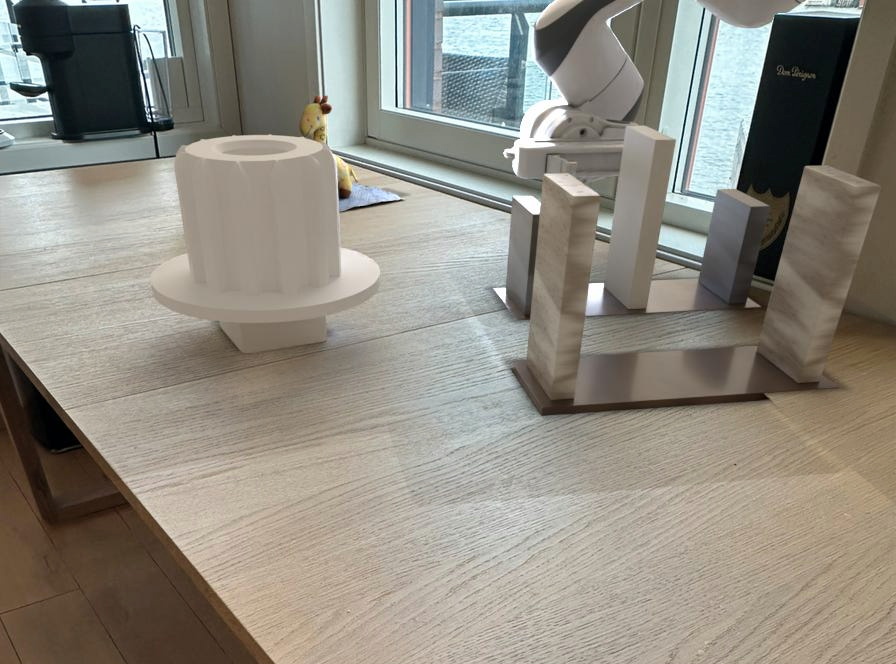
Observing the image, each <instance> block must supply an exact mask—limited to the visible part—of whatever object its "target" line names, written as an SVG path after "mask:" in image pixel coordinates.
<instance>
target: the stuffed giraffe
mask: <svg viewBox="0 0 896 664" xmlns="http://www.w3.org/2000/svg"><path fill="white" fill-rule="evenodd" d="M321 97H322V98H321ZM328 99H329V95H328V94H327V95H326V94H325V95H324V96H321V95H319V94H317V95H315V96H314V100H313V101H312V103H308V104H307V105H306V107H305V108H304V110H303V112H302V115H301V118H300V121H299V132H300V134H301V136H302V137H304V138H305V139H307V138H308V137H310V136H312V134H313V136H312V137H313V138H312V140H314V141H317V142H325V143H326V144H327V134H328V131H327V130H328V129H327V124H328V123H327V121H328V119H327V115H329V114H330V113H331V112H332V111H333V107H332V104H329V103H328ZM333 155H334V156H335V158H336V162H337V179H338V201H339V213H340V212H343V211H345V212H346V211H347V210H350V209H352V208H357V207H360V206H361V207H362V206H369V205H371V204H378V203H381V202H390V201H392V202H393V201H399V200H404V198H403V197H400V196H399V195H398V194H395V193H394V192H393V191H389V190H388V191H387V190H383V189H380V188H378V187H374V186H373V187H372V186H369V185H361V184H359V179H358V178H357V176H356V174H355V172H354V171H353V168H352V167H351V166H350V165H349V164H347V163H346V162H345V161H344V160H343V159H342V158H340V157H339V156H337V155H336V154H334V153H333ZM351 177H353V179H354V182H352V181H353V180H352V178H351Z"/></svg>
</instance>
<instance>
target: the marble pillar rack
mask: <svg viewBox="0 0 896 664" xmlns="http://www.w3.org/2000/svg"><path fill="white" fill-rule="evenodd" d="M881 189H882V185H880V184H877V183H876V182H875V183H874V182H872V181H870V180H867V179H864V178H861V177H860V176H859V177H858V176H857V175H853V174H851V173H848V172H846V171H843V170H840V169H837V168H835V167H832V166H830V165H828V164H827V165H825V164H824V165H805V166H804V167H803V172H802V175H801V179H800V183H799V187H798V189H797V193H796V198H795V200H794V201H795V202H794V206H793V209H792V213H791V217H790V221H789V223H788V224H789V225H788V229H787V232H786V236H785V240H784V244H783V247H782V252H781V255H780V259H779V263H778V266H777V270H776V274H775V278H774V282H773V285H772V288H771V293H770V297H769V301H768V304H767V308H766V312H765V316H764V320H763V324H762V328H761V331H760V335H759V340H758V343H757V345H743V346H729V347H713V348H711V347H710V348H698V349H697V348H696V349H682V350H681V349H679V350H665V351H664V350H663V351H649V352H647V351H645V352H631V353H630V352H629V353H613V354H598V355H581V350H582V344H583V343H582V341H583V335H584V327H585V320H586V317H585V313H586V305H587V298H588V290H589V284H590V282H591V273H592V266H593V259H594V252H595V251H594V250H595V244H596V235H597V227H598V222H599V221H598V220H599V213H600V207H601V205H600V204H601V198H602V197H601V196H602V195H601V194H599V192H596V191H595V190H593V189H592V188H591V187H590V186H588V185H586V183H585V184H583V183H582V182H580V181H579V180H577V179H576V178H575V177H573V176H572V175H570V174H569V173H553V174H543V178H542V185H541V197H540V203H541V206H540V217H539V228H538V239H537V250H536V261H535V272H534V283H533V294H532V305H531V316H530V320H529V329H528V337H527V338H528V340H527V348H526V349H527V350H526V359H514V360H510V363H511V364H512V366H513V367H509V368H510V370H511V372H512V373H513V375H514V376H515V378H516V379H517V380H518V382H519V383H520V385H521V387H522V388H523V390H524V392H526V394H527V396H528V397H529V399H530V400H531V402H532V403H533V405H534V406H535V408H536V409H537V411H538V412H539V414H540V415H541V416H550V415H551V416H552V415H566V414H580V413H593V412H609V411H610V412H611V411H622V410H623V411H624V410H638V409H653V408H666V407H667V408H668V407H681V406H695V405H708V404H724V403H739V402H750V401H751V402H753V401H766V400H771V399H770V397H768V396H767V395H766V394H772V393H786V392H787V393H788V392H801V391H802V392H803V391H816V390H831V389H840V387H839V386H838V385H837V384H835V383H834V382H833V381H831V380H830V379H829V378H827V377H826V376H825V375H823V371H824V369H825V365H826V362H827V359H828V357H829V354H830V349H831V346H832V343H833V341H834V337H835V334H836V331H837V327H838V325H839V322H840V319H841V315H842V312H843V308H844V306H845V303H846V299H847V296H848V293H849V290H850V286H851V284H852V281H853V277H854V274H855V271H856V269H857V264H858V262H859V259H860V255H861V252H862V249H863V245H864V242H865V239H866V236H867V233H868V230H869V227H870V223H871V220H872V218H873V214H874V211H875V208H876V205H877V202H878V198H879V196H880V192H881Z"/></svg>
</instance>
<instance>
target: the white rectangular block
mask: <svg viewBox="0 0 896 664" xmlns="http://www.w3.org/2000/svg"><path fill="white" fill-rule="evenodd" d="M676 141H677V139H676V138H674V137H671V136H670V135H667V134H665V133H663V132H660V131H658V130H656V129H654V128H652V127H649V126H647V125H638V126H626V130H625V137H624V144H623V151H622V158H621V165H620V173H619V177H618V179H617V188H616V195H615V202H614V207H613V208H614V209H613V217H612V223H611V230H610V237H609V244H608V245H609V246H608V252H607V259H606V266H605V273H604V280H603V283H604V287H605V288H606V289H607V290H608V291H609V292H610V293H611V294H612V295H613V296H614V297H616V298H617V299H618V300H619V301H620V302H621V303H622V304H623V305H624V306H625V307H626V308H628V309H644V308H647V304H648V298H649V292H650V286H651V281H653V280H652V279H653V274H654V269H655V264H656V258H657V253H658V245H659V240H660V236H661V235H660V234H661V228H662V223H663V217H664V212H665V206H666V200H667V194H668V189H669V183H670V179H671V178H670V177H671V173H672V165H673V162H674V161H673V160H674V153H675V149H676V143H677V142H676Z"/></svg>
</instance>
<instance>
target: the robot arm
mask: <svg viewBox="0 0 896 664" xmlns="http://www.w3.org/2000/svg"><path fill="white" fill-rule="evenodd" d="M643 1H644V0H554V1H553V2H552V3H550V4H549V5H548V6H547V7H546V8H545V9H544V10H543V11H542V12H541V14H540V15H539V16H538V17H537V19H536V20H535V22H534V25H533V28H532V35H531V58H532V61H533V62H534V63H535V65H536V66H537V67H538V68H539V69H540V70H541V71H542V72H543V74H544V75H545V76H546V77H547V78H549V79H550V81H551V82H552V84H553V85H554V87H555V88H556V89H557V91H558V92H559V94H560V95H561V98H558V99H554V100H542V101H539V102H537V103H535V104H533V105H531V107H530V108H529V109H527V111H526V113H525V114H524V116H523V118H522V121H521V124H520V129H519V130H520V131H519V138H520V139H517V140H515V141H514V144H513V145H514V146H513V147H512V148H506V149H504V152H503V155H504V158H506V159H507V160H510V161H512V169H513V172H514V174H515V175H516V177H518V178H521V179H526V180H528V179H529V180H530V179H532V180H533V179H543V174H553V173H569V174H570V175H572V176H573V177H575V178H576V179H577V180H579V181H580V182H582V183H583V184H585V185H586V184H587V183H591V182H595V181H599V180H602V179H609V178H617V177H618V178H619V173H620V165H621V158H622V151H623V144H624V137H625V130H626V126H639V124H638V123H637V122H634V121H635V119H636V118H637V116H638V114H639V110H640V108H641V104H642V101H643V97H644V93H645V80H644V79H643V77H642V76H641V73H640V72H639V71H638V69H637V67H636V65H635V64H634V62H633V61H632V59H631V57H630V56H629V54H628V53H627V52H626V51H625V49H624V48H623V46H622V44H621V42H620V41H619V40H618V38H617V37H616V35H615V33H614V32H613V30H612V28H611V26H610V25H609V23H608V21H609V20H611V19H613V18H615V17H616V16H618V15H620V14H622V13H623V12H625V11H627V10H629V9H631V8H632V7H634V6H636V5H638V4H640V3H642V2H643ZM693 2H694V3H697V4H699V6H702V7H703V8H704V9H705V10H707V11H708V12H709V13H711V14H712V15H713V16H714V17H715V18H717V19H718V20H720V21H721V22H724V23H726V24H728V25H729V26H733V27H735V28H741V29H759V28H762V27H765V26H767V25H769V24H771V23H773V22H772V20H773V17H774V15H775V14H778V13H787V12H788V13H790V12H791V11H793V10H794V9H796V8H797V7H798V6H800V5H801V4H802V3H804V2H806V0H693ZM788 13H787V14H788Z"/></svg>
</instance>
